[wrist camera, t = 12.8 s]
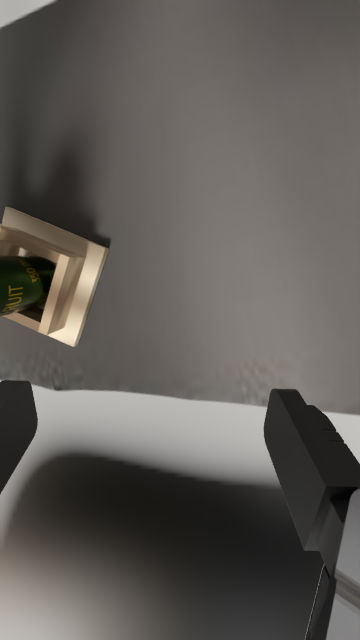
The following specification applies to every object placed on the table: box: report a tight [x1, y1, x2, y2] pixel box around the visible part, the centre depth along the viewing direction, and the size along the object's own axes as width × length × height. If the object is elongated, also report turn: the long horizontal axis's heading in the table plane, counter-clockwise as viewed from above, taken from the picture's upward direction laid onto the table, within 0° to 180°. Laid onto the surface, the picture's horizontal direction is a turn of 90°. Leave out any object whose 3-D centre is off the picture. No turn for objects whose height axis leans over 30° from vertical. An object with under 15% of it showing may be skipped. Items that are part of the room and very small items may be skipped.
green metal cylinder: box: [0, 256, 56, 316], centre depth 27 cm, size 5×5×12 cm
